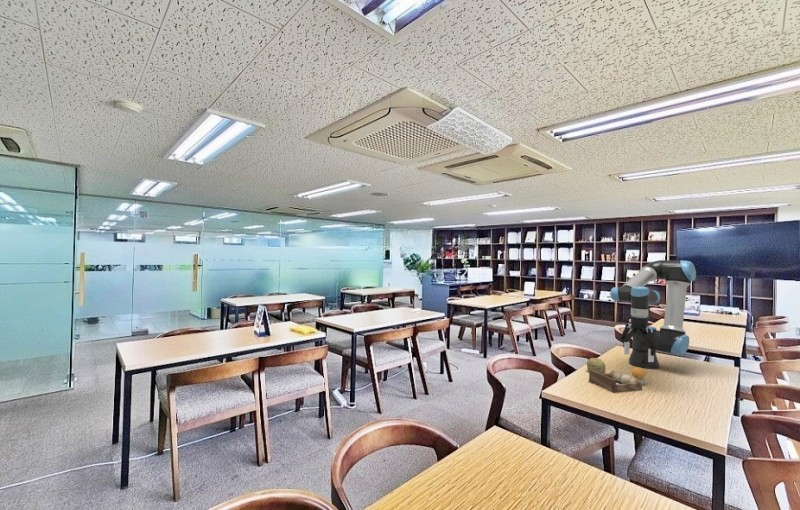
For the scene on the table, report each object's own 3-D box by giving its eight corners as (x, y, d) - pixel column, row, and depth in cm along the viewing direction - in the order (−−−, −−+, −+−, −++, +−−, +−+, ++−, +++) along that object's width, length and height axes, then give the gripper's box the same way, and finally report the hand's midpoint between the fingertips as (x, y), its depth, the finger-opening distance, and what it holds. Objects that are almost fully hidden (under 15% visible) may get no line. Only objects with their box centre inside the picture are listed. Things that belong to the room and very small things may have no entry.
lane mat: (615, 379, 185) (615, 378, 185) (642, 389, 170) (642, 389, 170) (589, 381, 180) (589, 380, 180) (614, 392, 166) (614, 391, 166)
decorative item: (602, 382, 191) (613, 367, 191) (588, 371, 191) (599, 356, 191) (593, 376, 200) (603, 362, 200) (579, 365, 200) (590, 352, 200)
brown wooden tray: (615, 379, 185) (615, 367, 185) (642, 389, 170) (642, 377, 170) (589, 381, 180) (589, 370, 180) (614, 392, 166) (614, 380, 166)
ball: (637, 376, 183) (637, 365, 183) (648, 380, 177) (648, 368, 177) (628, 377, 181) (628, 365, 181) (639, 381, 175) (639, 369, 175)
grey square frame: (637, 381, 181) (637, 376, 181) (644, 384, 178) (644, 379, 178) (632, 382, 180) (632, 377, 180) (638, 384, 177) (638, 379, 177)
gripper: (613, 312, 190) (612, 351, 190) (657, 321, 166) (656, 365, 166) (623, 312, 192) (623, 351, 192) (669, 320, 168) (668, 364, 168)
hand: (638, 357), depth 179 cm, fingers open, 13 cm apart
